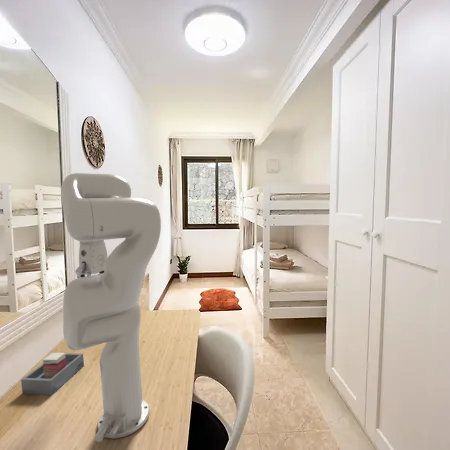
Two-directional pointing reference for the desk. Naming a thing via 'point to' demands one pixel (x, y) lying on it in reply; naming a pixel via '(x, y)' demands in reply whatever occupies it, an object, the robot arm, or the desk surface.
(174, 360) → the desk surface
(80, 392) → the desk surface
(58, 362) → the small box
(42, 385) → the walled box
